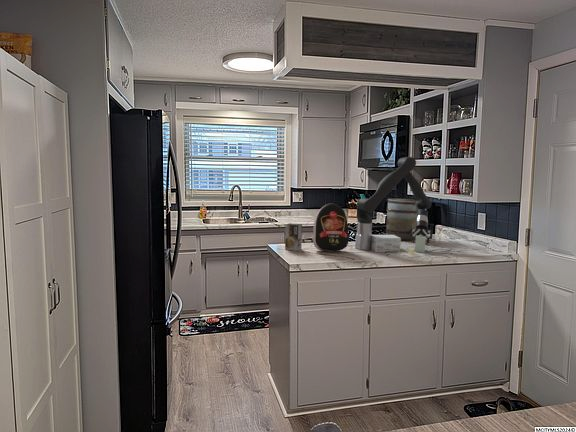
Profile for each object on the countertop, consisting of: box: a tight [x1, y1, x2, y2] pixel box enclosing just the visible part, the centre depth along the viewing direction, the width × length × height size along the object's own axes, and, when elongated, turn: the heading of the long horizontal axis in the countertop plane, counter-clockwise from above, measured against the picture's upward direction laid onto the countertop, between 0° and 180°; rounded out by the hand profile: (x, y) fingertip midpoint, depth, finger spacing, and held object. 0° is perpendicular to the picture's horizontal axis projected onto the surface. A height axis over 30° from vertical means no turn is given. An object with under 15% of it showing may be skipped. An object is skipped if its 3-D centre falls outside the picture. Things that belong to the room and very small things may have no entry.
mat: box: [406, 248, 432, 254], centre depth 278 cm, size 12×12×1 cm
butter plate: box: [396, 247, 426, 259], centre depth 265 cm, size 12×12×4 cm
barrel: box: [385, 198, 419, 242], centre depth 327 cm, size 22×22×30 cm
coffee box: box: [284, 222, 303, 251], centre depth 270 cm, size 9×6×16 cm
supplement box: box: [370, 234, 402, 253], centre depth 280 cm, size 17×13×9 cm
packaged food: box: [312, 202, 350, 252], centre depth 268 cm, size 22×20×30 cm
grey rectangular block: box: [414, 235, 427, 254], centre depth 277 cm, size 9×6×10 cm, turn 162°
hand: (420, 242), depth 277 cm, fingers open, 8 cm apart
